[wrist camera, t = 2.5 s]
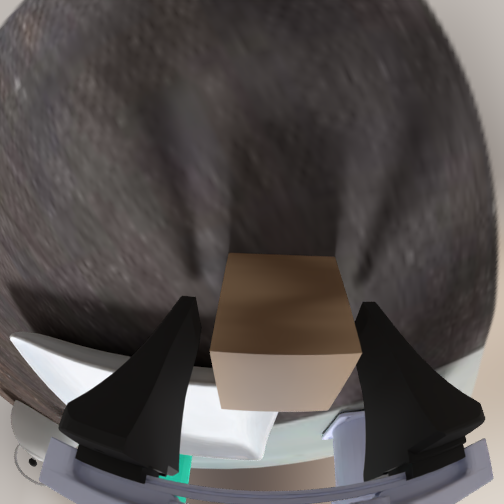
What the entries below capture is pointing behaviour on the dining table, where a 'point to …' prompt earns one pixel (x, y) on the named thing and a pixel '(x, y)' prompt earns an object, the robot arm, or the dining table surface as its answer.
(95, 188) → the dining table surface
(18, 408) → the kettle
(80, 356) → the salad plate
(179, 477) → the candle
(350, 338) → the walnut block
